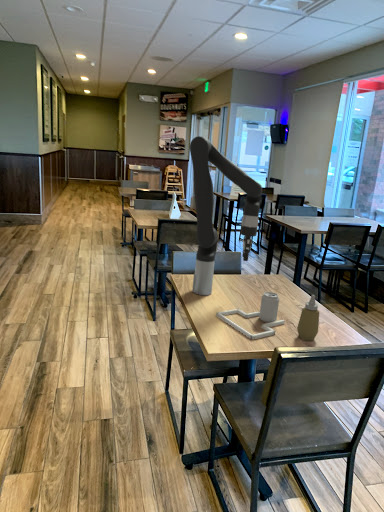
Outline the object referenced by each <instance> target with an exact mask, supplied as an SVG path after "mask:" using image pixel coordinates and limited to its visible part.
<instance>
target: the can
mask: <svg viewBox="0 0 384 512" xmlns="http://www.w3.org/2000/svg"><path fill="white" fill-rule="evenodd" d="M260 299H261V301H260V306H259V307H260V309H259V311H260V314H259V316H258V317H259V319H260V320H261V321H262V322H265V323H270V322H275V321H277V320H278V312H279V304H280V297H279V294H278V293H276V292H273V291H265V292H264V293H263V295H261V298H260Z"/></svg>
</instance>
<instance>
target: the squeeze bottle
mask: <svg viewBox="0 0 384 512" xmlns="http://www.w3.org/2000/svg"><path fill="white" fill-rule="evenodd" d="M318 308H319V304H318V303H316V295H314V294H311V296H310V299H309V301H308V302H306V303H305V306H304V307H303V308H302V309H301V313H300V316H299V321H298V324H297V329H296V330H297V334H298V338H300V339H301V340H303V341H307V342H311V341H314V340H315V338H316V336H317V335H318V334H319V324H320V311H319V309H318Z"/></svg>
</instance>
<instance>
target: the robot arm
mask: <svg viewBox="0 0 384 512" xmlns="http://www.w3.org/2000/svg"><path fill="white" fill-rule="evenodd" d="M189 152H190V157H191V162H192V163H191V164H192V173H193V174H192V176H193V177H192V178H193V180H192V181H193V195H194V196H193V197H194V207H195V214H196V242H197V244H198V247H197V251H196V256H195V257H196V258H195V270H194V273H193V278H192V279H193V281H192V289H191V290H192V291H191V292H194V294H196V295H198V294H199V296H209V295H212V293H213V292H212V291H213V281H214V270H215V263H216V262H215V260H216V255H217V250H218V249H217V248H218V240H219V239H218V238H219V235H218V231H217V229H216V228H214V225H213V212H214V204H215V196H214V194H215V193H214V192H215V191H214V184H213V180H212V176H211V173H210V169H209V163H211V164H212V165H213V166H214V167H216V168H217V169H218V170H219V172H221V174H222V175H224V177H225V178H227V179H228V180H229V181H230V182H231V183H233V184H234V185H235V186H237V187H239V188H240V190H242V191H243V192H244V193H245V194H246V196H245V197H246V198H245V202H244V203H245V204H244V207H243V213H242V214H243V215H242V219H241V227H240V235H241V236H243V239H242V254H241V255H242V260H243V261H244V262H248V261H249V255H250V253H251V249H252V244H253V243H252V242H253V240H252V239H251V238H252V237H256V236H257V232H258V227H259V215H260V206H261V205H260V203H261V199H262V196H263V187H262V184H261V183H259V182H258V181H257V180H255V179H254V178H252V177H251V176H249V175H248V174H247V172H245V171H244V170H243V169H242V168H240V167H239V166H238V165H237V164H235V163H234V162H232V161H231V160H230V159H228V158H227V157H226V156H225V155H223V153H221V152H220V151H219V150H218V148H217V147H215V146H214V144H213V143H212V142H211V141H210V139H208V138H207V137H204V136H202V135H201V136H199V135H198V136H195V137H193V139H192V140H191V141H190V144H189Z"/></svg>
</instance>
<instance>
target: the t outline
mask: <svg viewBox="0 0 384 512" xmlns="http://www.w3.org/2000/svg"><path fill="white" fill-rule="evenodd" d="M215 314H216V315H215V316H216V317H217V318H219V319H220V320H222V321H223V322H224V323H226V324H227V323H228V325H229V326H230V325H231V327H232V328H233V327H234V328H233V329H234V330H236V331H238V332H239V331H240V332H239V333H241V334H242V333H243V334H242V335H244V336H245V335H246V336H245V337H247V338H248V337H249V338H248V339H250V340H251V339H253V340H257V339H261V338H265V337H270V336H274V335H275V334H276V330H274V329H273V328H271V327H277V326H281V325H284V324H285V320H284V319H281V320H276V321H274V322H270V323H267V322H265V323H261V329H263V330H264V331H263V332H258V333H255V334H252V333H250V332H249V331H247V330H246V329H245V328H243V327H242V326H240V325H238V324H237V323H235V322H234V321H232V320H231V319H229V318H228V317H226V316H228V315H233V314H238V315H240V316H242V317H244V318H245V319H249V318H254V317H259V314H260V310H259V311H254V312H250V313H246V312H245V311H243V310H242V309H239V308H235V309H230V310H223V311H218V312H216V313H215Z"/></svg>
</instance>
